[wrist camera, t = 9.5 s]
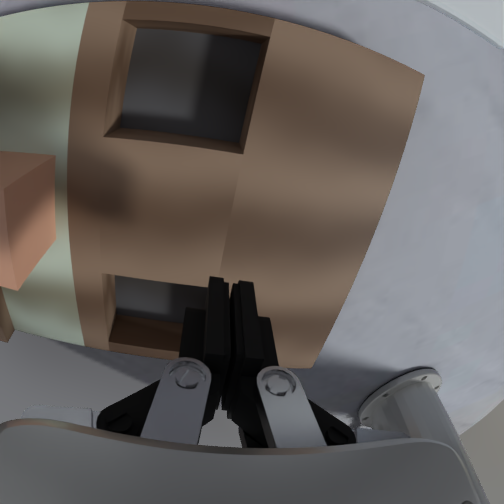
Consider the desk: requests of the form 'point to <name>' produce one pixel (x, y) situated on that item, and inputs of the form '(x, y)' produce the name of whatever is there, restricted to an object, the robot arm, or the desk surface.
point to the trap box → (197, 168)
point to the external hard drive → (475, 16)
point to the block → (25, 213)
